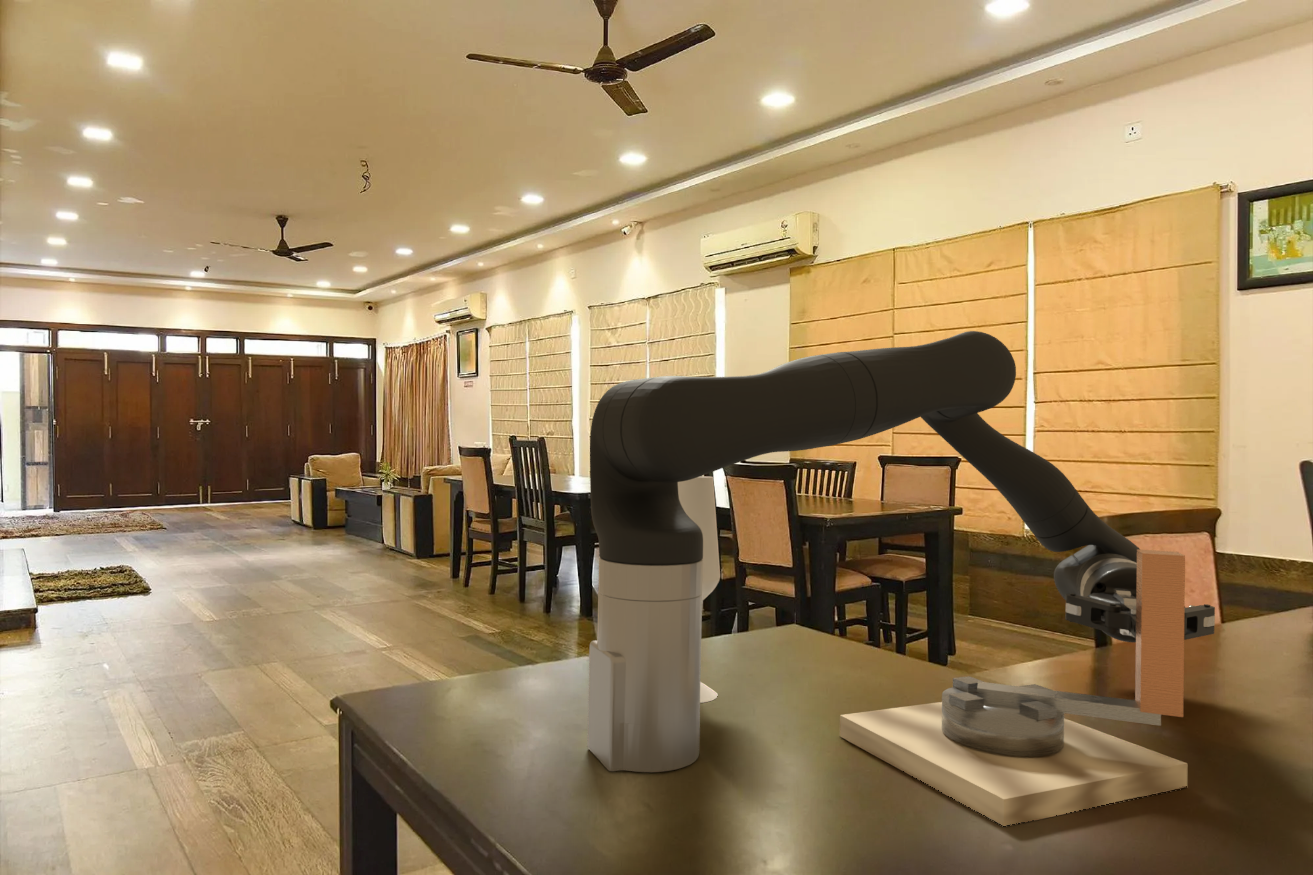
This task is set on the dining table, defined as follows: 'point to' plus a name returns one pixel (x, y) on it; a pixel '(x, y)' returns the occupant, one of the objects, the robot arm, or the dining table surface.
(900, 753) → the maple base
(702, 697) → the champagne flute
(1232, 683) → the dining table surface
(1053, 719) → the grey disc with bar
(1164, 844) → the dining table surface
